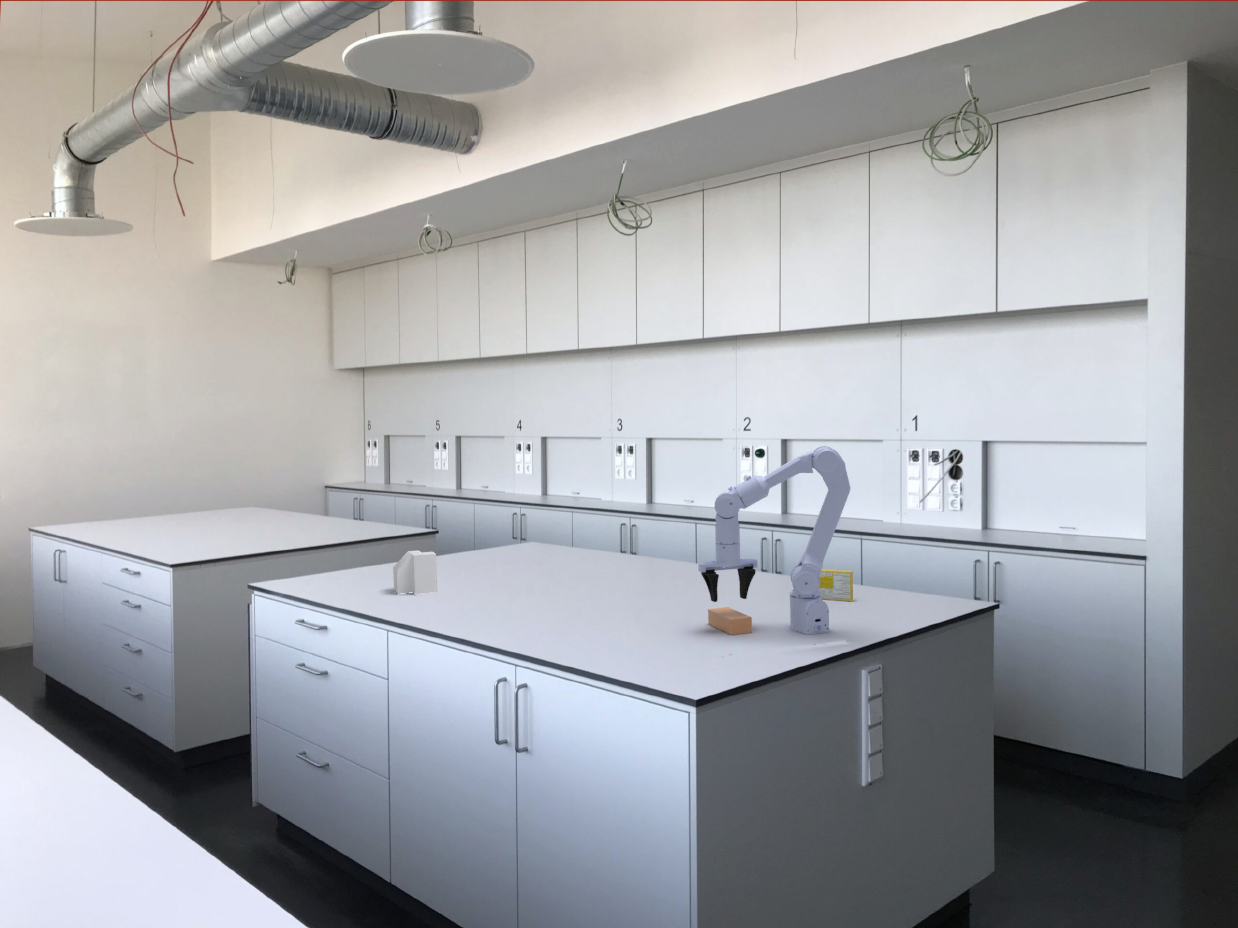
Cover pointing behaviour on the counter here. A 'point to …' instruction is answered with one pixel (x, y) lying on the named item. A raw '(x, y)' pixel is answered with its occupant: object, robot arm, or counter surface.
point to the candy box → (836, 585)
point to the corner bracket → (416, 573)
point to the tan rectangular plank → (730, 620)
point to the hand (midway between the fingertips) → (728, 599)
